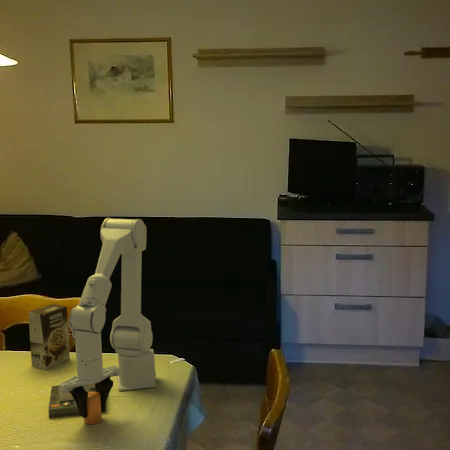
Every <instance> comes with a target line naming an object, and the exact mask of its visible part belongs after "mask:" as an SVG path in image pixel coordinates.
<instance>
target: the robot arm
mask: <svg viewBox="0 0 450 450" xmlns="http://www.w3.org/2000/svg"><path fill="white" fill-rule="evenodd" d="M99 235H100V240H101V243H102V245H101V250H100V253H99V257H98V261H97V265H96V269H95V273H94V274H93V275H90V276H89V277H88V278H87V281H86V284H85V286H84V288H83V290H82V291H83V292H82V294H81V297H80V300H79V301H78V305H76V306H75V307H73V308H72V309H71V310H70V313H69V317H68V318H69V319H68V328H69V329H70V331H71V335H72V339H74V343H75V357H76V358H75V360H76V372H77V373H76V375H74V376H72V377H71V378H68V379H67V380H65V381H62V382H61V383H59V384H58V386H59V391H60V392H61V393H62V394H67V393H68V392H70V393H71V395H72V396H73V398H74V400H75V402H76V404H77V407H78V410H79V413H80V414H79V416H80V417H81V418H82V419H84V418H87V398H88V392H86V391H85V388H83V386H86V385H89V384H95V389H96V392H99V393H100V396H101V411H102V412H103V413H104V412H106V411H105V407H107V406H106V405H107V400H108V398H109V395H110V392H111V390H112V389H113V388H114V387H113V386H114V380H113V379H111V378H113V377H117V378H116V379H117V387H118V391H129V390H140V389H149V388H155V387H156V386H157V385H156V376H157V373H156V372H157V371H156V367H155V366H156V365H155V364H156V361H155V351H154V349H153V348H151V347H152V345H153V335H154V334H153V331H152V324H151V321H150V320H149V319H148V318H147V317H146V316H144V315H143V314H142V263H143V262H142V261H143V260H142V259H143V258H142V257H143V256H142V255H143V253H142V252H143V251H145V250H146V249H147V226H146V224H145V223H144V221H143V220H142V219H140V218H136V219H134V218H133V219H127V218H111V217H106V218H105V219H104V220H103V222H102V224H101V226H100V234H99ZM120 256H121V281H120V282H121V291H120V299H121V300H120V315H119V316H118V317H115V319H114V320H113V321H112V324H111V325H112V326H111V331H110V336H109V343H110V345H111V347H112V348H113V349H115V353H117V359H118V360H117V361H118V366H117V365H113V366H107V367H103V350H102V348H103V347H102V330H103V328H104V325H105V323H106V312H107V307H106V304H107V301H108V299H109V295H110V293H111V289H112V286H113V284H112V282H111V279H110V278H111V277H112V274H113V271H114V269H115V267H116V265H117V263H118V261H119V259H120ZM102 412H101V413H102Z"/></svg>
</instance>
